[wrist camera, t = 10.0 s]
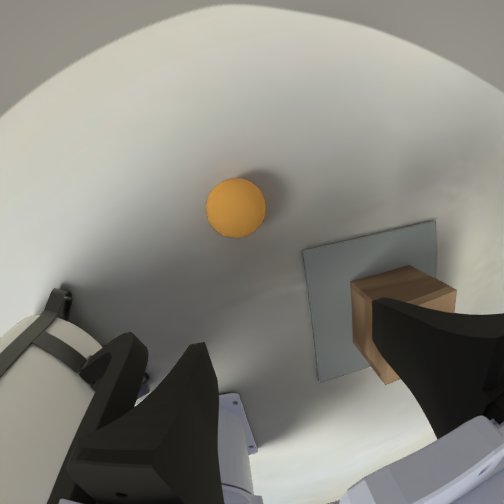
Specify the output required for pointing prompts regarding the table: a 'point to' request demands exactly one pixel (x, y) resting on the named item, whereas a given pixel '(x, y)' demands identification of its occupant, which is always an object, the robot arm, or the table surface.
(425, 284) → the wooden grain cube
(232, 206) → the orange ball
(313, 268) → the slate mat
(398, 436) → the table surface
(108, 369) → the coffee press
